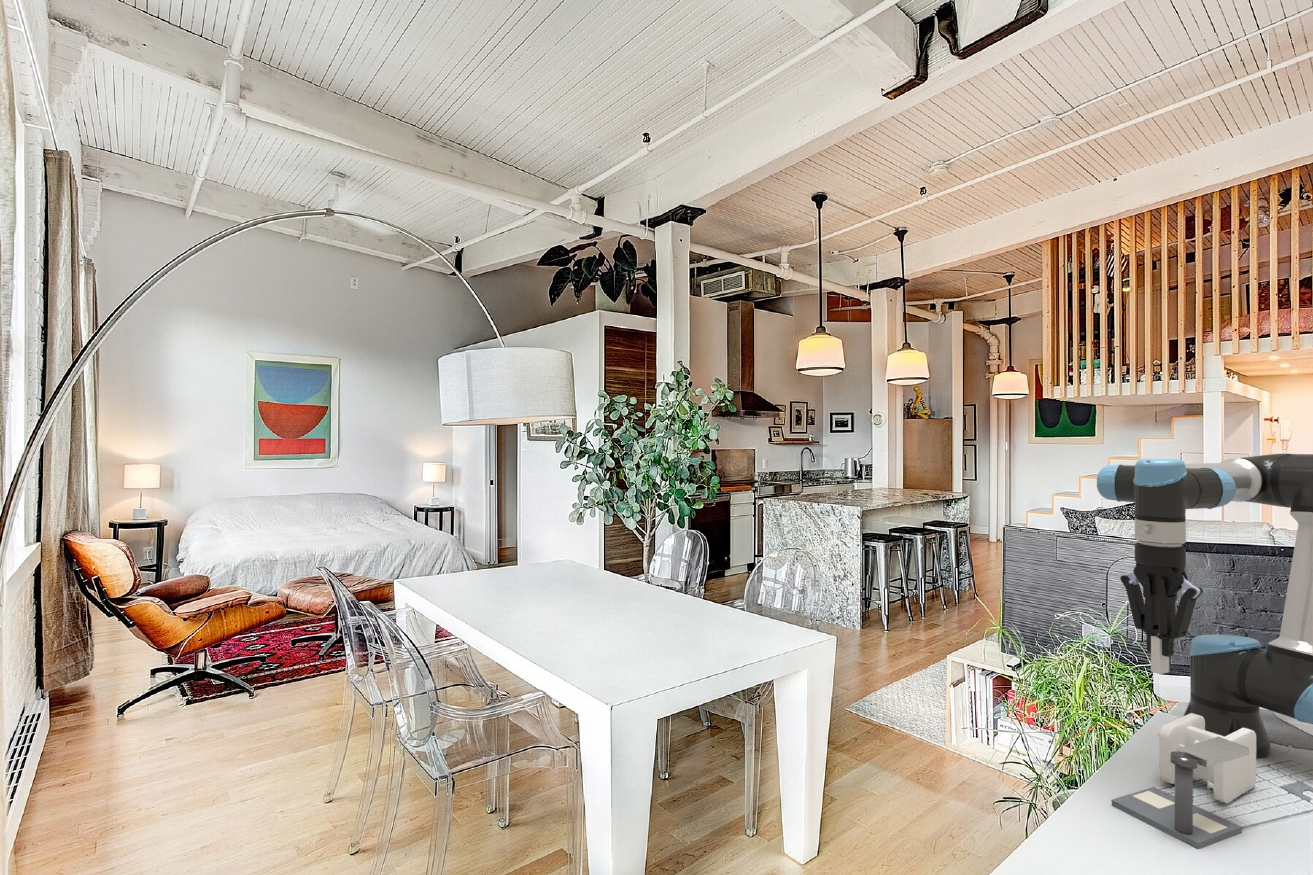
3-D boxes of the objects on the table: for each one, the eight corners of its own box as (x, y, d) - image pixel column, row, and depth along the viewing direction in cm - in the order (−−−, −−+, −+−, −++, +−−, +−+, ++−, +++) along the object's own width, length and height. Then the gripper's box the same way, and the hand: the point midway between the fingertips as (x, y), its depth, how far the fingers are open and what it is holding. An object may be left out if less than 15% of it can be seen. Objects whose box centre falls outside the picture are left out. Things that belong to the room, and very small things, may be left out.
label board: (1153, 791, 127) (1154, 728, 127) (1241, 832, 114) (1242, 761, 114) (1111, 805, 122) (1111, 739, 122) (1198, 848, 109) (1198, 775, 109)
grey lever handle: (1218, 743, 120) (1218, 736, 120) (1249, 754, 116) (1249, 747, 116) (1162, 759, 114) (1162, 752, 114) (1192, 771, 110) (1192, 764, 110)
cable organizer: (1222, 810, 121) (1222, 746, 121) (1155, 784, 130) (1155, 724, 130) (1257, 789, 128) (1258, 728, 128) (1191, 765, 137) (1192, 708, 137)
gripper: (1110, 539, 128) (1110, 663, 128) (1186, 550, 116) (1187, 687, 116) (1135, 536, 130) (1136, 658, 131) (1213, 547, 118) (1213, 680, 119)
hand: (1160, 671), depth 123 cm, fingers closed
